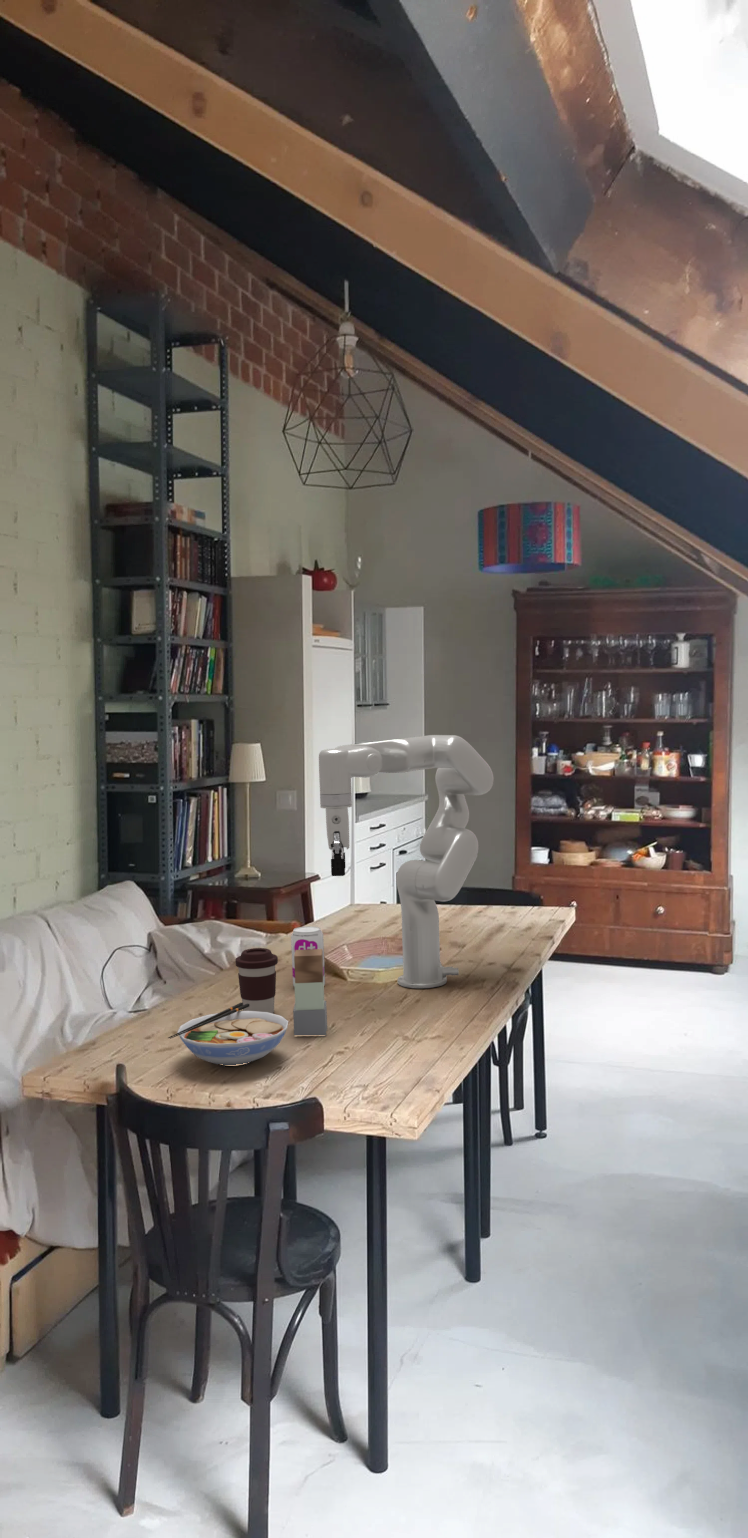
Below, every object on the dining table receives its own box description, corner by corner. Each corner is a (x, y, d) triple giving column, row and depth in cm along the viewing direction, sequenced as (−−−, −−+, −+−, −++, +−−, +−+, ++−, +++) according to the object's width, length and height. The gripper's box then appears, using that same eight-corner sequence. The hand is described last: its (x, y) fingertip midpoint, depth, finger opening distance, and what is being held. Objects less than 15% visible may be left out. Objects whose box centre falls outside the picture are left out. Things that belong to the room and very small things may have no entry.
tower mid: (324, 1001, 253) (323, 975, 253) (323, 1009, 247) (322, 982, 246) (296, 1002, 253) (295, 976, 252) (295, 1010, 247) (294, 983, 246)
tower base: (327, 1026, 254) (326, 1000, 253) (326, 1036, 247) (325, 1009, 246) (296, 1027, 254) (295, 1001, 253) (294, 1037, 247) (293, 1010, 246)
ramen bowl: (240, 1089, 216) (238, 1047, 215) (151, 1071, 228) (149, 1031, 227) (315, 1051, 237) (313, 1013, 236) (230, 1036, 249) (228, 1000, 248)
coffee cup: (286, 1008, 269) (283, 947, 268) (269, 1020, 260) (266, 956, 259) (248, 1006, 272) (246, 945, 271) (230, 1018, 263) (227, 954, 262)
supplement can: (320, 991, 283) (318, 932, 282) (289, 991, 285) (286, 932, 284) (328, 983, 291) (326, 926, 290) (297, 982, 293) (295, 925, 292)
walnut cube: (323, 975, 253) (322, 948, 252) (322, 982, 247) (321, 955, 246) (296, 976, 252) (295, 949, 252) (295, 983, 246) (294, 956, 246)
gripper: (351, 804, 258) (354, 877, 259) (351, 796, 275) (354, 866, 277) (319, 805, 258) (321, 879, 259) (321, 797, 275) (323, 867, 277)
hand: (338, 872), depth 268 cm, fingers open, 9 cm apart
